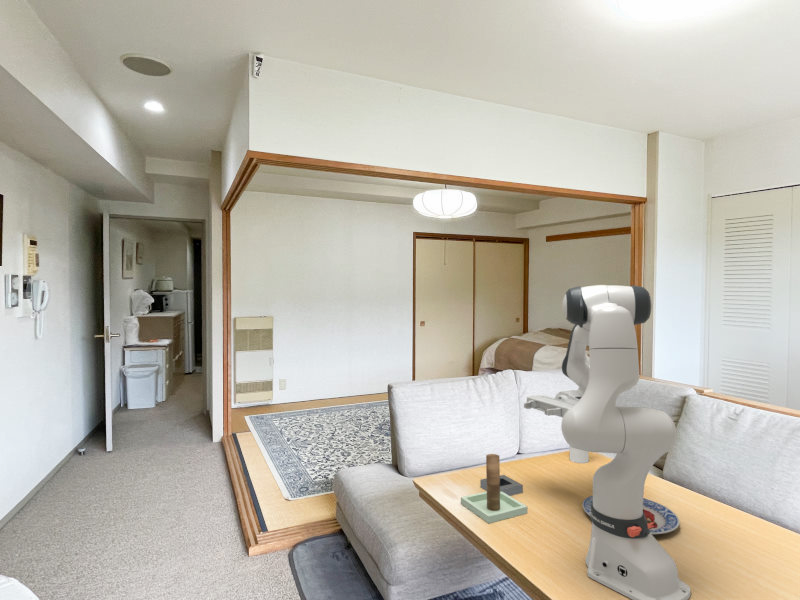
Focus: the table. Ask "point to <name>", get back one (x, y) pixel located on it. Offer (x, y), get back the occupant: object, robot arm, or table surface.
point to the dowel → (493, 482)
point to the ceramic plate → (649, 515)
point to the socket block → (505, 485)
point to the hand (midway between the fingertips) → (535, 409)
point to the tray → (507, 510)
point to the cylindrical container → (579, 455)
